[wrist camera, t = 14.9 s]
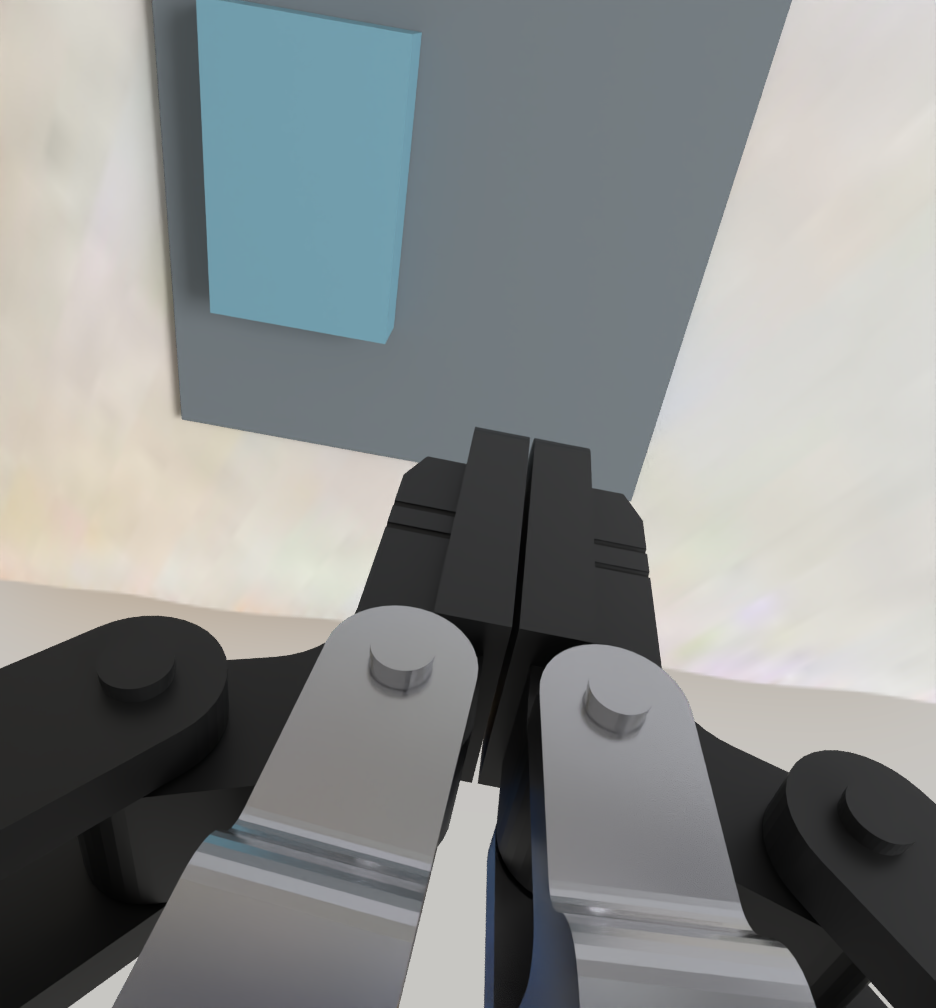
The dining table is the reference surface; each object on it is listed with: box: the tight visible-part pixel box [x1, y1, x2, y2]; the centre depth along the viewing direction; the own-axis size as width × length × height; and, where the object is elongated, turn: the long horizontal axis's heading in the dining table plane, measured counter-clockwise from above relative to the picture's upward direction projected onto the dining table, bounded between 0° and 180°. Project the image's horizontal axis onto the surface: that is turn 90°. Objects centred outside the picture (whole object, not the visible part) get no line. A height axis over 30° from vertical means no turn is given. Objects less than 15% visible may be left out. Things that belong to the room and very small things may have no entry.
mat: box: [152, 0, 792, 501], centre depth 25 cm, size 20×18×1 cm
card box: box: [196, 0, 422, 344], centre depth 24 cm, size 9×2×6 cm
